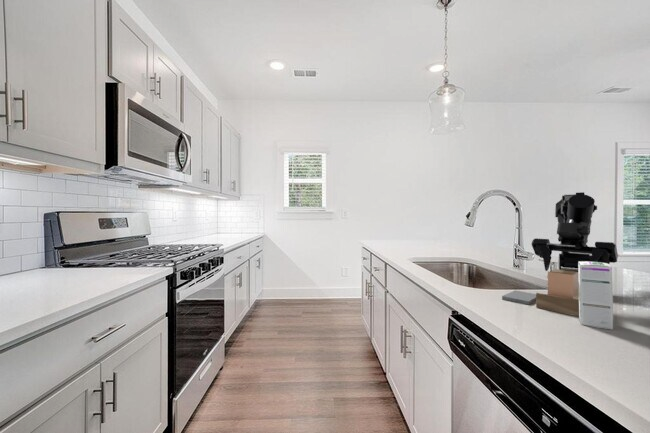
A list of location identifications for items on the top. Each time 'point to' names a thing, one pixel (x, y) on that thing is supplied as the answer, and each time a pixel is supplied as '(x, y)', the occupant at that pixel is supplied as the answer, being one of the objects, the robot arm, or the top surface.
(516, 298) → the slate tile
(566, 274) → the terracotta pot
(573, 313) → the frame
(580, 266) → the syrup box
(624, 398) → the top surface
